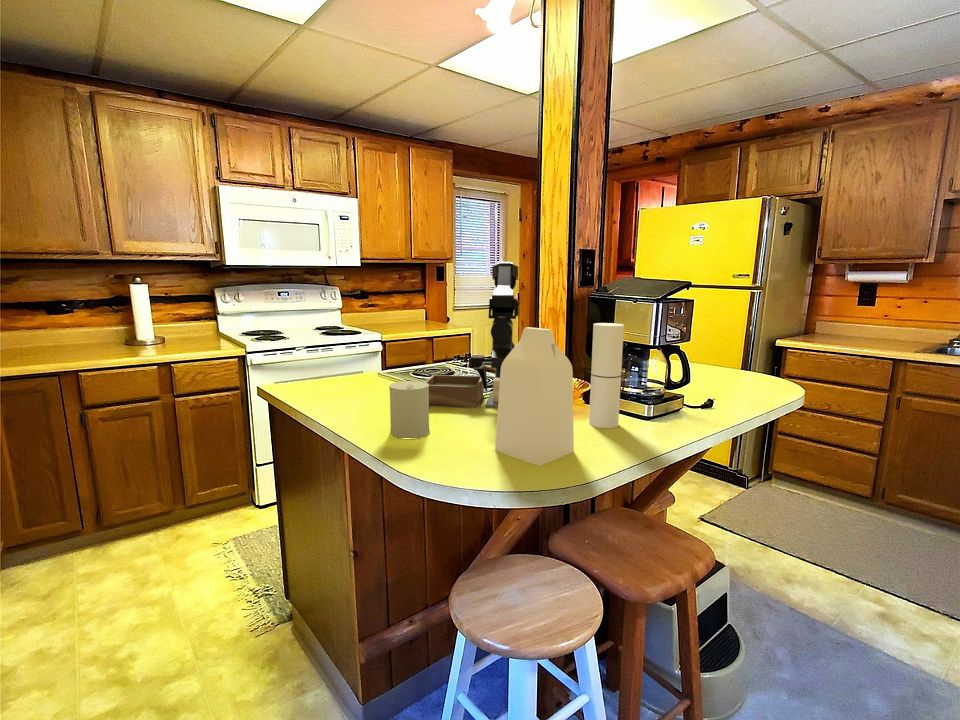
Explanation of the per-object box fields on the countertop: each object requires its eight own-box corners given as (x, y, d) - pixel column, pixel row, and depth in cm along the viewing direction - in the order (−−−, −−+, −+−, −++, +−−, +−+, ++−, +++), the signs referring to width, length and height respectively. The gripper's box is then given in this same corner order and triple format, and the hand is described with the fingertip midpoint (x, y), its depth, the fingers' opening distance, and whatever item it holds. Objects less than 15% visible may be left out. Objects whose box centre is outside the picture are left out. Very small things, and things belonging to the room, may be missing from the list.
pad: (489, 396, 151) (489, 394, 151) (516, 397, 150) (516, 395, 150) (485, 407, 139) (485, 404, 139) (514, 408, 138) (514, 405, 138)
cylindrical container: (587, 426, 122) (592, 325, 118) (590, 418, 129) (594, 322, 125) (617, 429, 120) (623, 326, 116) (618, 421, 127) (624, 323, 123)
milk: (494, 450, 105) (496, 328, 101) (529, 438, 113) (532, 324, 109) (539, 466, 97) (543, 333, 92) (573, 451, 105) (578, 329, 100)
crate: (432, 393, 155) (432, 374, 154) (483, 395, 153) (483, 376, 152) (421, 406, 140) (421, 385, 139) (477, 408, 138) (477, 387, 137)
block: (494, 397, 147) (494, 377, 146) (509, 398, 147) (510, 378, 146) (492, 401, 143) (493, 380, 142) (508, 401, 142) (509, 381, 141)
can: (392, 441, 111) (390, 388, 109) (388, 428, 119) (387, 379, 117) (433, 437, 113) (432, 386, 111) (426, 426, 122) (425, 378, 120)
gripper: (465, 340, 135) (465, 396, 137) (535, 342, 133) (533, 399, 135) (471, 335, 146) (471, 387, 148) (535, 337, 144) (534, 390, 146)
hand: (501, 391), depth 144 cm, fingers open, 9 cm apart
